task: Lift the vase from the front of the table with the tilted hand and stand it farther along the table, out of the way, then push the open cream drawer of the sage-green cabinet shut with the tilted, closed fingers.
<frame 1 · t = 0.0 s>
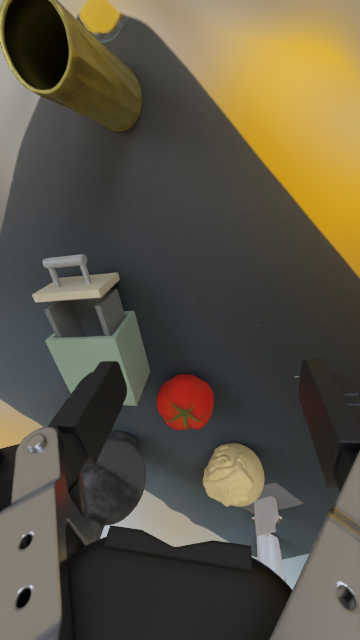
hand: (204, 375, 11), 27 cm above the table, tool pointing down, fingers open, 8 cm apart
tomato: (189, 386, 50), on the table
cabinet: (114, 343, 47), on the table
sculpture: (234, 451, 57), on the table
drawer: (86, 307, 39), point 4 cm above the table, slide at 6.0 cm
architectural model: (264, 499, 66), on the table
pitcher: (119, 436, 62), on the table
vase: (117, 99, 29), on the table
cup: (267, 535, 75), on the table
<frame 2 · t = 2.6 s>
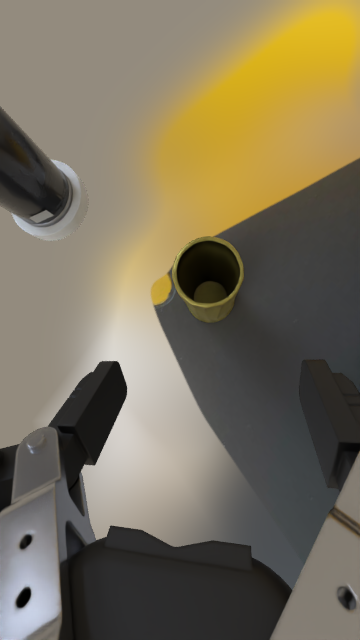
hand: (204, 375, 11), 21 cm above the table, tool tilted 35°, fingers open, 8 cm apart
vase: (210, 299, 32), on the table
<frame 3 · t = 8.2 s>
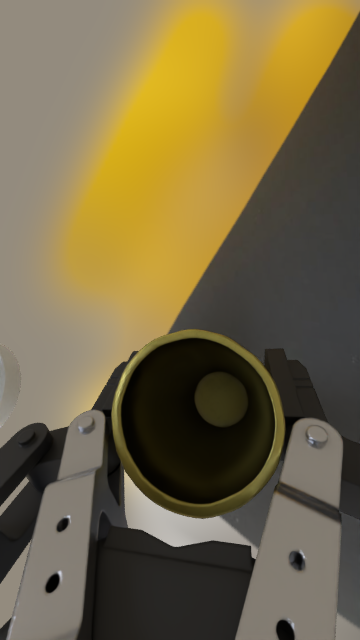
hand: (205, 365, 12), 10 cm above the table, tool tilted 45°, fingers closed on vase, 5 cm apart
vase: (221, 398, 21), on the table, touching gripper
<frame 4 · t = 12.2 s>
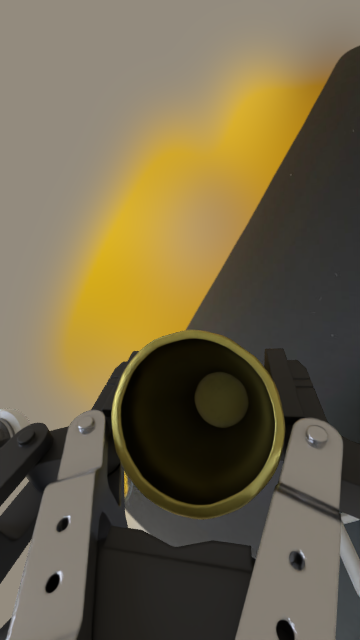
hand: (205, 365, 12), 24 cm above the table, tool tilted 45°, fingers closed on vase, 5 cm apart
vase: (221, 398, 21), point 13 cm above the table, touching gripper
when the fingers open (10 cm above the table, at t = 16.5 s): vase stays where it is, on the table.
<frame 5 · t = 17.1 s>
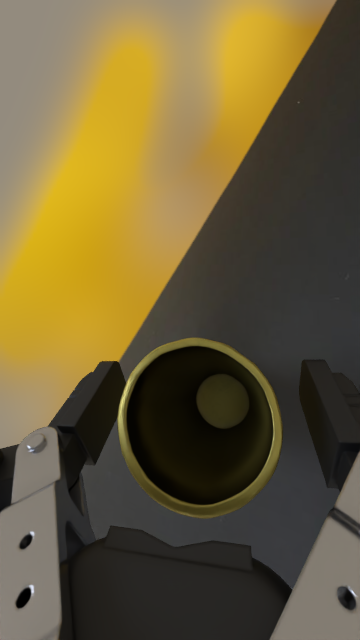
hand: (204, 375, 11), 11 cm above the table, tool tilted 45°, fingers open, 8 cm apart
vase: (222, 400, 21), on the table
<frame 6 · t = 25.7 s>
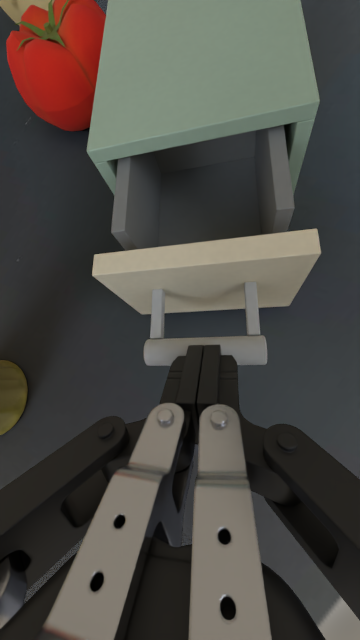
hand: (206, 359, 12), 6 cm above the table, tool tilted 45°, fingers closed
tomato: (91, 111, 28), on the table
cabinet: (208, 166, 22), on the table
sculpture: (55, 19, 35), on the table
drawer: (203, 231, 16), point 4 cm above the table, slide at 5.8 cm, touching gripper
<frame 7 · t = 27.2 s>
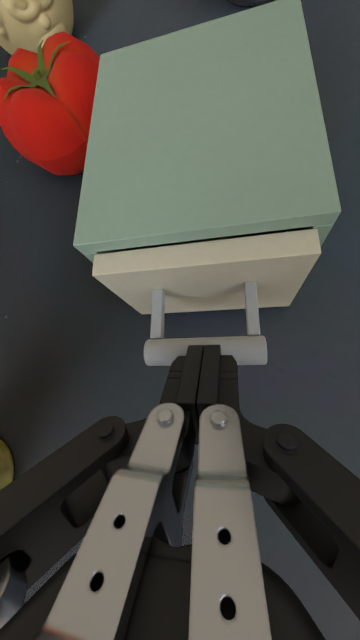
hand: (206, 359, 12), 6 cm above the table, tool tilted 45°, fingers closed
tomato: (85, 151, 27), on the table
cabinet: (209, 221, 21), on the table
sculpture: (49, 47, 34), on the table
drawer: (203, 231, 15), point 4 cm above the table, slide at 0.0 cm, touching cabinet, gripper
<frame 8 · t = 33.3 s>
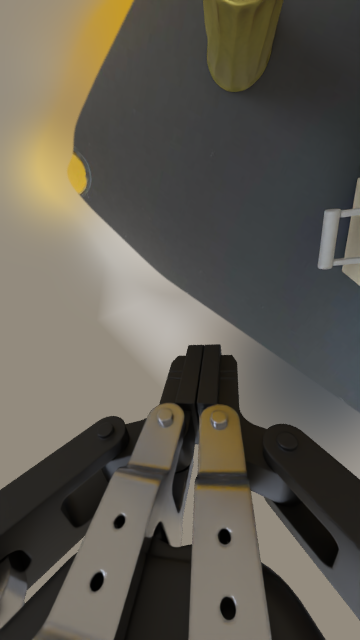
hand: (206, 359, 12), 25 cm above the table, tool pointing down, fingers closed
vase: (238, 51, 24), on the table
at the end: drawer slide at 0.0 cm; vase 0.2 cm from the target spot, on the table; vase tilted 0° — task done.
